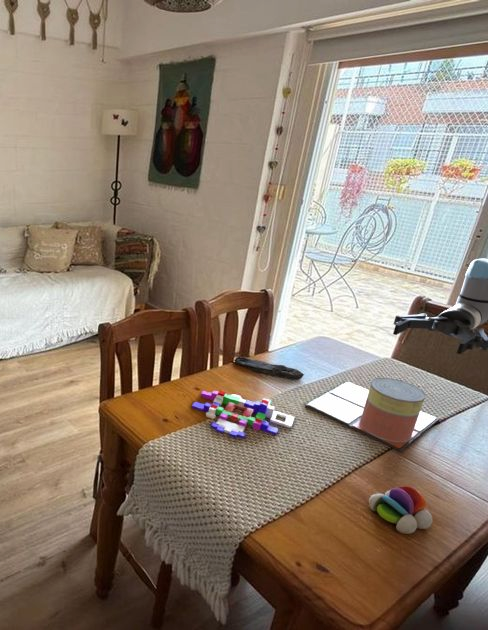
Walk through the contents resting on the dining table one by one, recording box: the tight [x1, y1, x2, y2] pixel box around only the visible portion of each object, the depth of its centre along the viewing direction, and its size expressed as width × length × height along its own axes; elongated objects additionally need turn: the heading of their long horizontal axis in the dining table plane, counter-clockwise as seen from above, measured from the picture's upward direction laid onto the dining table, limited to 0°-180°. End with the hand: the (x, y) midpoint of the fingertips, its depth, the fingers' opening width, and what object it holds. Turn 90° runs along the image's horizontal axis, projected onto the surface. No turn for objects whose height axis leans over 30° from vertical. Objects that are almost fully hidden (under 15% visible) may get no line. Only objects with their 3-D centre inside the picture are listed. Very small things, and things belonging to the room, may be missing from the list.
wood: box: [230, 356, 305, 381], centre depth 145 cm, size 22×7×3 cm, turn 55°
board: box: [304, 381, 440, 453], centre depth 122 cm, size 24×24×1 cm
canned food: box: [360, 377, 427, 442], centre depth 112 cm, size 11×11×12 cm
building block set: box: [191, 390, 295, 439], centre depth 120 cm, size 25×20×4 cm
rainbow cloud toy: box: [368, 485, 433, 535], centre depth 87 cm, size 8×10×7 cm
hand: (426, 338), depth 110 cm, fingers open, 13 cm apart
